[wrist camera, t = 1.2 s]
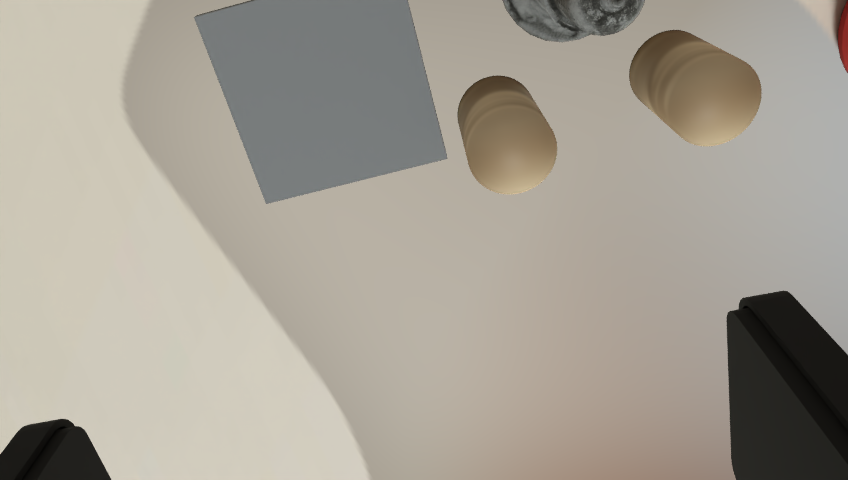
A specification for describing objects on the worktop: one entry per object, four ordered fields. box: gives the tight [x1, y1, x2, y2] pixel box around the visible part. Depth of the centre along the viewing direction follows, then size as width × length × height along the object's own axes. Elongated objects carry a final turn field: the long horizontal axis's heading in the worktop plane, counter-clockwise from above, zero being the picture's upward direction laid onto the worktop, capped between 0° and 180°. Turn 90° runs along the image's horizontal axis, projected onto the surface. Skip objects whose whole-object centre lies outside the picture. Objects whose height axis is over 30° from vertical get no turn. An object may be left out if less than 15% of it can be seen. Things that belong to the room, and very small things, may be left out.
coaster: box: [194, 0, 447, 204], centre depth 36 cm, size 10×10×1 cm
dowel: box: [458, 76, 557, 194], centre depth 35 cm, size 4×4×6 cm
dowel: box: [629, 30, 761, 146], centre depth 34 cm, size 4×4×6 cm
